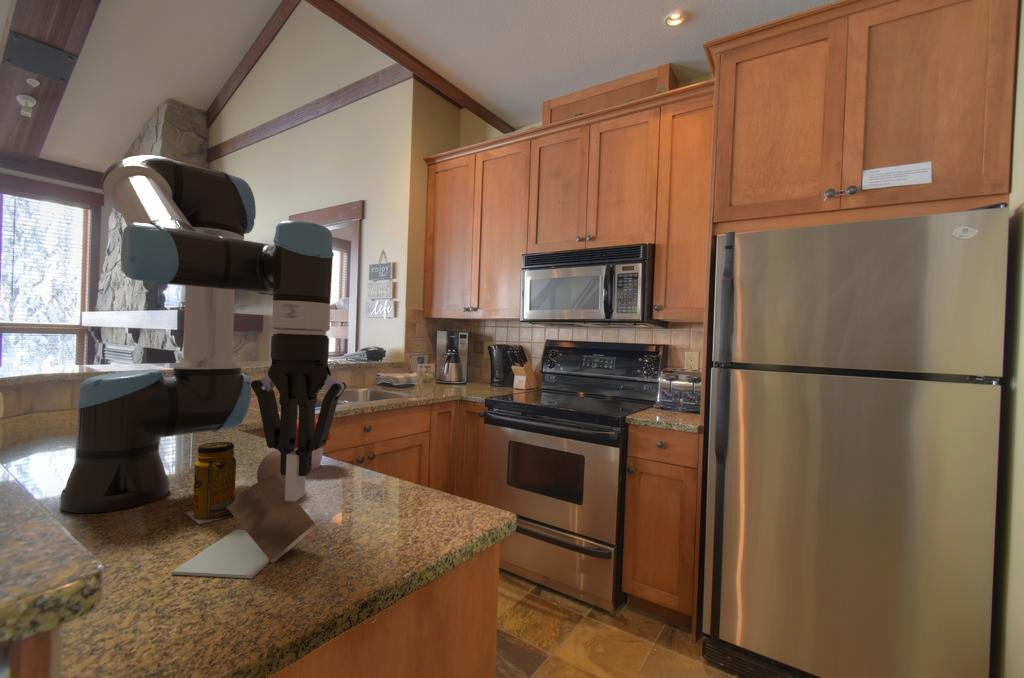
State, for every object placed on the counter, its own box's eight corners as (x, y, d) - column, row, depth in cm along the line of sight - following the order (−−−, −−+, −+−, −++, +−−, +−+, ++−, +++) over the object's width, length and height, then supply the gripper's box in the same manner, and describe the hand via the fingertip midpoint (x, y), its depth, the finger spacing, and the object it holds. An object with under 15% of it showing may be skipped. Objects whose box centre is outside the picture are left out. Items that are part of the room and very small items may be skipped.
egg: (265, 486, 94) (267, 445, 94) (302, 486, 95) (303, 446, 95) (249, 498, 87) (250, 454, 87) (288, 498, 88) (290, 455, 88)
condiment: (184, 513, 79) (187, 443, 79) (238, 501, 86) (241, 437, 86) (198, 525, 75) (201, 451, 75) (254, 511, 81) (257, 443, 81)
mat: (171, 574, 59) (171, 571, 59) (235, 532, 72) (235, 529, 72) (251, 578, 59) (251, 575, 59) (300, 535, 72) (301, 532, 72)
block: (272, 563, 63) (226, 507, 63) (291, 547, 68) (248, 495, 68) (300, 540, 63) (254, 484, 63) (316, 525, 68) (274, 473, 68)
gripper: (240, 330, 62) (233, 505, 62) (335, 334, 62) (328, 509, 62) (270, 331, 70) (264, 487, 70) (355, 334, 69) (349, 491, 69)
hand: (294, 497), depth 66 cm, fingers closed
